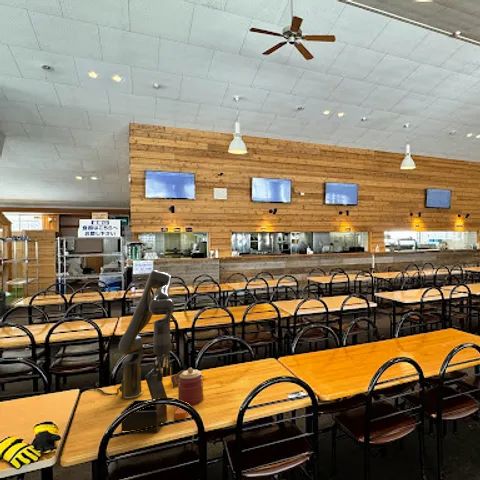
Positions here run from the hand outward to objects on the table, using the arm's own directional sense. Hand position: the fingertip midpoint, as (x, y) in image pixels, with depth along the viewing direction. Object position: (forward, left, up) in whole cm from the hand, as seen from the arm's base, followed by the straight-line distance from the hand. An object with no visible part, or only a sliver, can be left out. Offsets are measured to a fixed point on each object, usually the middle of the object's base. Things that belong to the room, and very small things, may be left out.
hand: (162, 378), depth 176 cm
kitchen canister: (+5, +27, -23) cm, 35 cm away
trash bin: (-8, 0, -22) cm, 24 cm away
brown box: (-5, +52, -23) cm, 57 cm away
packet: (+6, +10, -22) cm, 25 cm away
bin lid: (-3, 0, -4) cm, 5 cm away
